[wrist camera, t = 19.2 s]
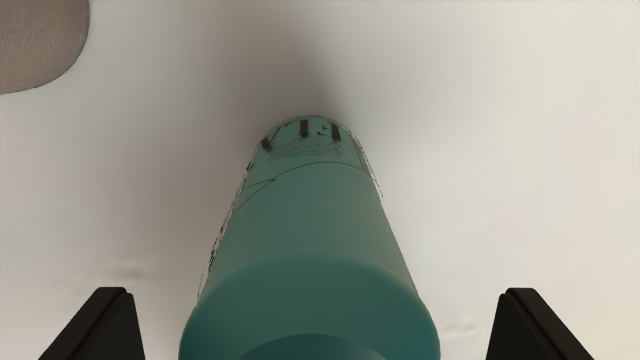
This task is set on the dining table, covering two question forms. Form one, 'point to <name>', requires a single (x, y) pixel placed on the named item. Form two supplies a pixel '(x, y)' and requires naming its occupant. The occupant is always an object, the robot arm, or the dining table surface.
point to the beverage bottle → (309, 262)
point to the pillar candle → (39, 40)
